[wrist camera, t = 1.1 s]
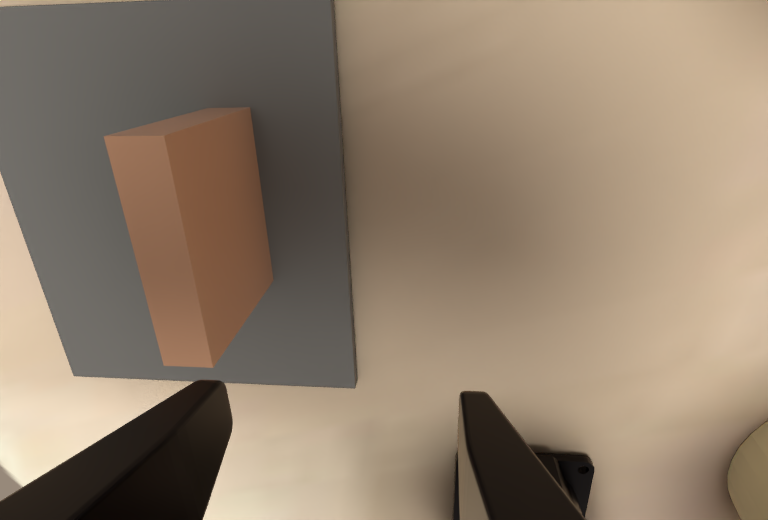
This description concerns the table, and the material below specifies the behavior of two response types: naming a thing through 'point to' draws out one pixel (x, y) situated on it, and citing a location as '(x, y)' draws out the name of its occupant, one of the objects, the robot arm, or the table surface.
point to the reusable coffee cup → (750, 476)
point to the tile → (195, 227)
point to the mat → (156, 103)
